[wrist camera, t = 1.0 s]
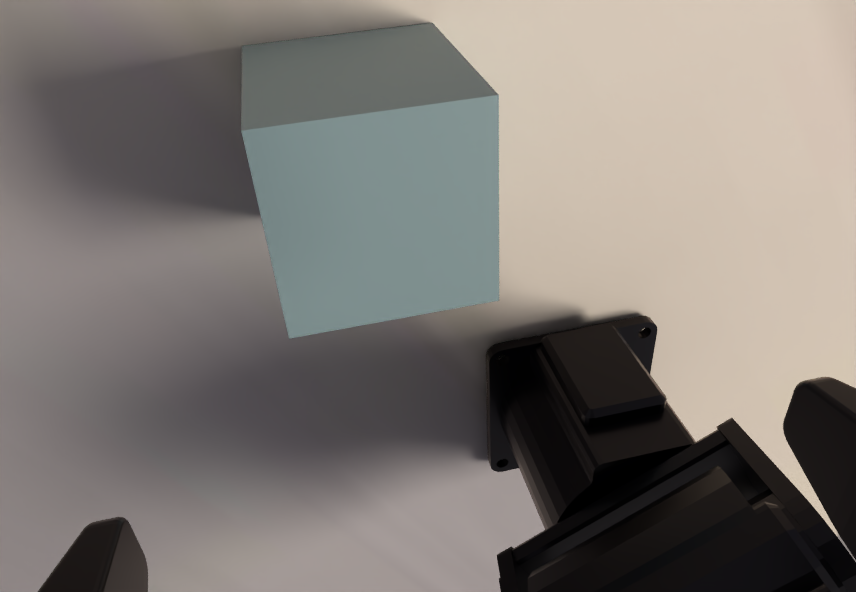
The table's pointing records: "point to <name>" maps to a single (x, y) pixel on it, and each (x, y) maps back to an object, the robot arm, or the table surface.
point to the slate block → (373, 175)
